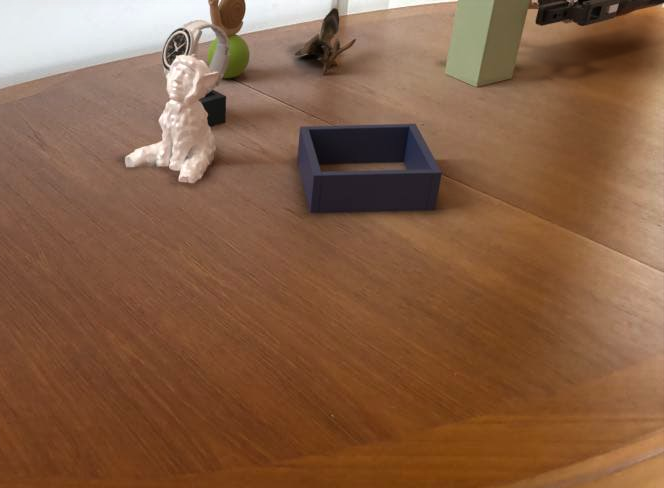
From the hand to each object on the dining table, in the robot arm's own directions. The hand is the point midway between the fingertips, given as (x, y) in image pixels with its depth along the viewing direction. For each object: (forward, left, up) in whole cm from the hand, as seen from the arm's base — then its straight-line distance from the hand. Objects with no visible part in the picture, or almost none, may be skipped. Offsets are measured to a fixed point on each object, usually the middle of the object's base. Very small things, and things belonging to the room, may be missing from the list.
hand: (512, 7), depth 109 cm
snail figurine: (+35, 0, -8) cm, 36 cm away
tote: (+23, +35, -8) cm, 42 cm away
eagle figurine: (+22, -4, -8) cm, 24 cm away
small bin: (+3, +2, -8) cm, 8 cm away
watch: (+39, +14, -8) cm, 42 cm away
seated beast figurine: (+41, +28, -8) cm, 50 cm away
